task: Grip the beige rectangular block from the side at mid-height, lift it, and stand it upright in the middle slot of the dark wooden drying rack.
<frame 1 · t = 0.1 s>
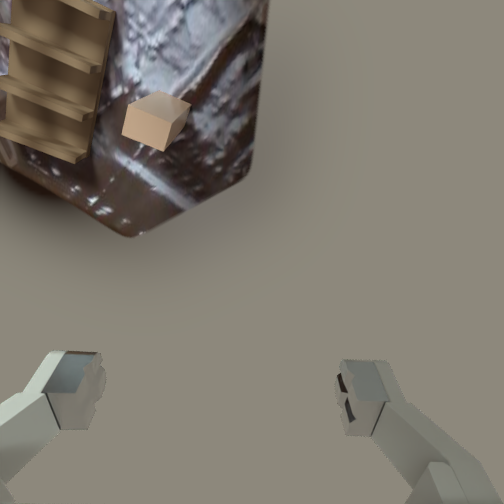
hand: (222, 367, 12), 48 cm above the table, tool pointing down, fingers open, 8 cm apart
drying rack: (59, 72, 49), on the table
beige rectangular block: (172, 108, 52), on the table
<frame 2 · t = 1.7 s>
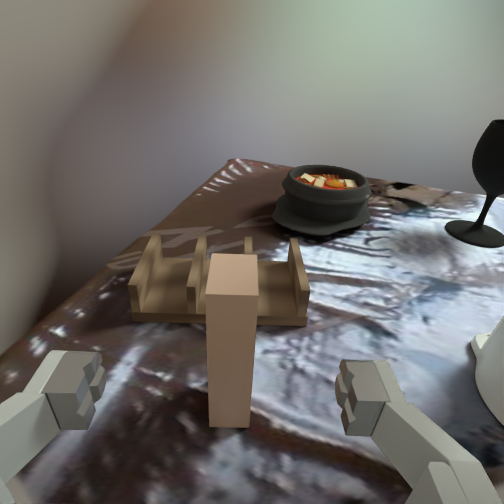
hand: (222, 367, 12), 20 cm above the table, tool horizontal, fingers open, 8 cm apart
drying rack: (222, 292, 46), on the table
wine glass: (474, 234, 65), on the table
beige rectangular block: (230, 402, 32), on the table
casserole: (320, 217, 69), on the table
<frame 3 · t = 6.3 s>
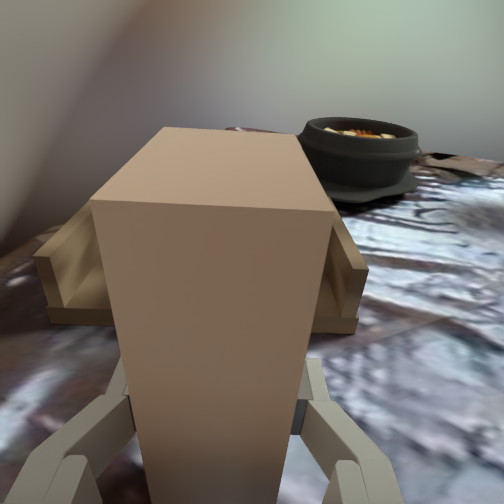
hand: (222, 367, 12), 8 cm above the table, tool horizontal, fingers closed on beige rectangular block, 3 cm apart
drying rack: (212, 278, 29), on the table
beige rectangular block: (219, 501, 15), on the table, touching gripper
casserole: (348, 185, 52), on the table
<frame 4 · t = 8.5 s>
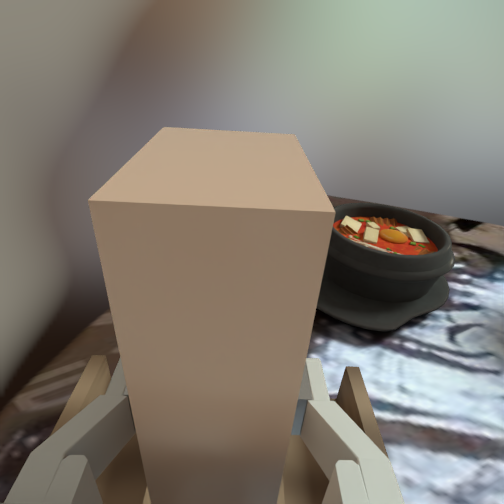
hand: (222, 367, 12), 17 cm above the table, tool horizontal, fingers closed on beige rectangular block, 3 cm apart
drying rack: (219, 482, 24), on the table
beige rectangular block: (219, 502, 15), point 9 cm above the table, touching gripper
casserole: (369, 281, 47), on the table
when the fingers open (10 cm above the table, at t = 10.7 s): beige rectangular block drops 1 cm, resting on drying rack.
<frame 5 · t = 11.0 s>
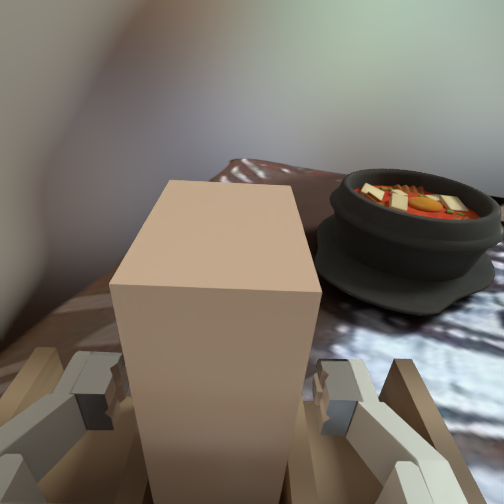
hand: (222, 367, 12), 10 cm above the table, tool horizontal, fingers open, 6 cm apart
casserole: (394, 260, 39), on the table
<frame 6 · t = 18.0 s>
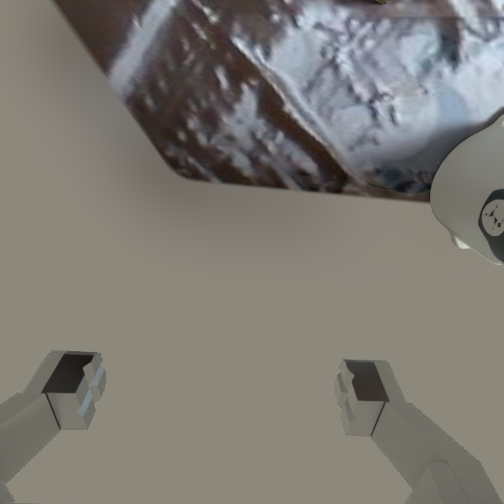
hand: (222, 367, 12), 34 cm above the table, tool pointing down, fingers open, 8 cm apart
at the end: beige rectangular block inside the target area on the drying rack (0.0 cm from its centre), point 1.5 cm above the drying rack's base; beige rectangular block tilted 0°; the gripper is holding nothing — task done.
